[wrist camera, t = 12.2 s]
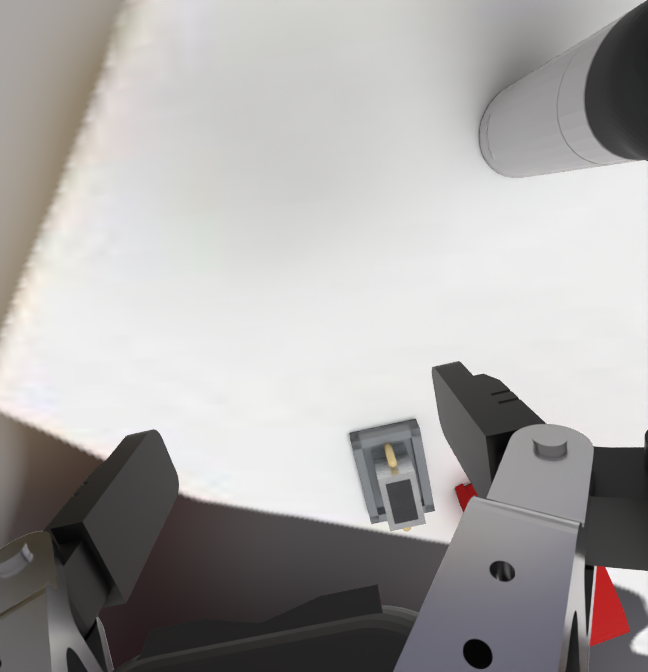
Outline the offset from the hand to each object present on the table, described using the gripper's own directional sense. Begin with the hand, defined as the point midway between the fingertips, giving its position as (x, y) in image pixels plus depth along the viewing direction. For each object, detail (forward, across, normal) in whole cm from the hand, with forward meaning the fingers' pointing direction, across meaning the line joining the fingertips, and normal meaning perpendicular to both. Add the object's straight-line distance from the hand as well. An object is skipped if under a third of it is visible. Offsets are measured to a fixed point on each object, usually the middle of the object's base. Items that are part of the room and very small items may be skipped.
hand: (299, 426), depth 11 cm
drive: (+35, -4, +30) cm, 46 cm away
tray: (+36, -4, +30) cm, 47 cm away
